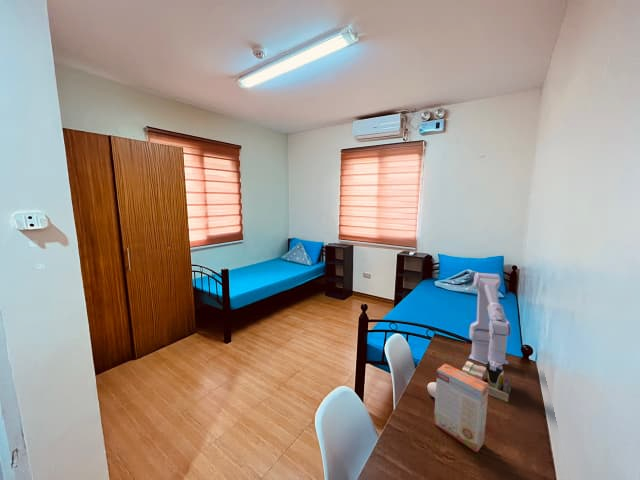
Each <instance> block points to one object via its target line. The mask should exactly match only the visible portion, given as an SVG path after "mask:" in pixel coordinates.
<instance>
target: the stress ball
mask: <svg viewBox="0 0 640 480" xmlns="http://www.w3.org/2000/svg"><path fill="white" fill-rule="evenodd" d="M426 388H427V389H426V390H427V392H428V394H429V395H430V396H431V397H433V398H434V399H433V400H434V401H433V402H435V397H436V382H434V381H433V382H432V381H431V382H429V383H428V384H427V387H426Z"/></svg>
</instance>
